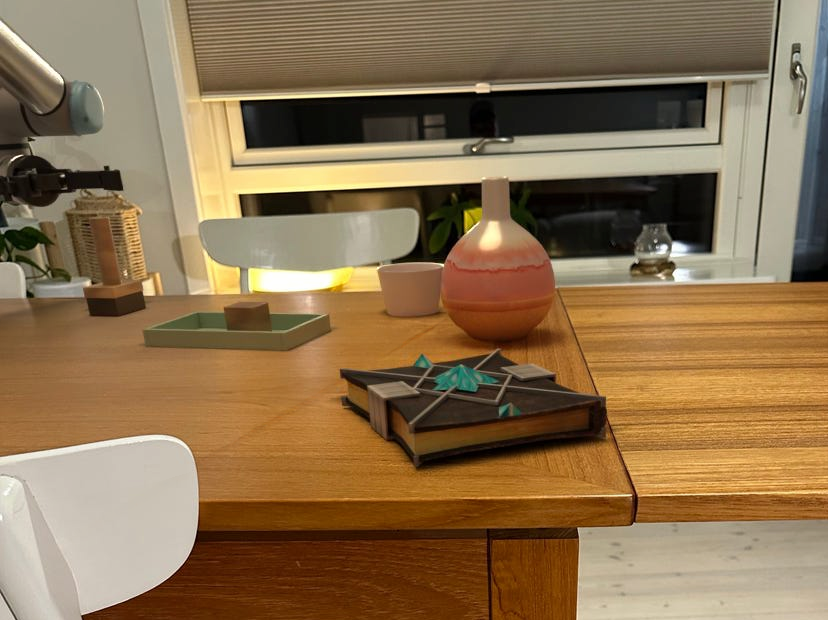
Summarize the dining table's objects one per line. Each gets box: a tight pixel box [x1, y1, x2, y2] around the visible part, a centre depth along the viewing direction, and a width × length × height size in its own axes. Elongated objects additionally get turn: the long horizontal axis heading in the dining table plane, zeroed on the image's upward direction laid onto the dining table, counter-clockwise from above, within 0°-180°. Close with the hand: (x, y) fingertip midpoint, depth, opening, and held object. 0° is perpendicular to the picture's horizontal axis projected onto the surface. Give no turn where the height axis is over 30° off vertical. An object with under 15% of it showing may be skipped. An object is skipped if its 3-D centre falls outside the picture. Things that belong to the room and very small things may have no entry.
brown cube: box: [223, 301, 272, 332], centre depth 117 cm, size 4×4×4 cm
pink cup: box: [376, 262, 444, 318], centre depth 130 cm, size 9×9×6 cm
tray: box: [142, 310, 332, 352], centre depth 118 cm, size 19×12×3 cm, turn 73°
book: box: [339, 348, 608, 468], centre depth 83 cm, size 22×17×5 cm
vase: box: [440, 176, 556, 343], centre depth 112 cm, size 14×14×18 cm
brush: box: [82, 216, 147, 317], centre depth 140 cm, size 5×7×13 cm
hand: (74, 184), depth 141 cm, fingers open, 13 cm apart
